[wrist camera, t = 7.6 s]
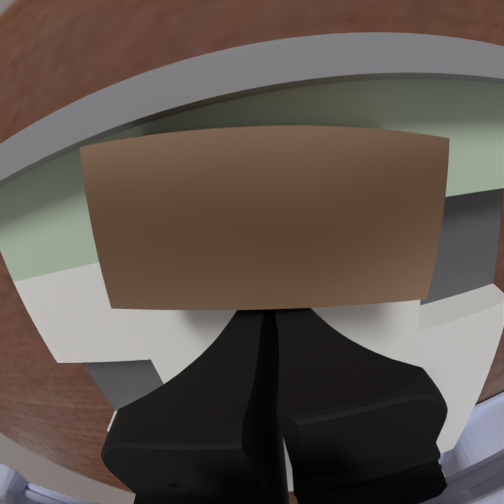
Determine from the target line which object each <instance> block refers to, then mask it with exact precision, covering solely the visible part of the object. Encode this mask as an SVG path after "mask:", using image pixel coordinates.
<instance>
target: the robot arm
mask: <svg viewBox="0 0 504 504" xmlns="http://www.w3.org/2000/svg"><path fill="white" fill-rule="evenodd" d="M447 413H448V408H447V404H446V402H445V400H444V398H443V396H442V394H441V392H440V390H439V389H438V387H437V386H436V384H435V383H434V382H433V380H432V379H431V378H430V376H429V375H428V374H427V372H426V371H425V370H424V369H423V368H422V367H419V366H415V365H412V364H408V363H405V362H401V361H398V360H394V359H391V358H389V357H386V356H384V355H381V354H379V353H376V352H374V351H371V350H369V349H367V348H365V347H363V346H361V345H359V344H358V343H356V342H354V341H352V340H350V339H349V338H347V337H346V336H344V335H342V334H341V333H340V332H338V331H337V330H335V329H334V328H333V327H331V326H330V325H329V324H328V323H326V322H325V321H324V320H323V319H322V318H321V317H320V316H319V315H317V314H316V313H315V312H314V311H313V310H312V309H311V308H291V309H260V310H237V311H236V312H235V314H234V315H233V317H232V318H231V320H230V321H229V323H228V324H227V325H226V327H225V328H224V329H223V331H222V332H221V333H220V334H219V336H218V337H217V338H216V339H215V341H214V342H213V343H212V344H211V345H210V346H209V347H208V348H207V349H206V350H205V351H204V352H203V353H202V354H201V355H200V356H199V357H198V358H197V359H196V360H194V361H193V362H192V363H191V364H190V365H188V366H187V367H186V368H185V369H184V370H182V371H181V372H180V373H179V374H177V375H176V376H175V377H173V378H172V379H170V380H169V381H168V382H166V383H165V384H163V385H162V386H160V387H158V388H157V389H155V390H154V391H152V392H150V393H149V394H147V395H145V396H143V397H141V398H139V399H137V400H135V401H134V402H132V403H130V404H128V405H126V406H124V407H121V408H119V409H118V411H117V413H116V415H115V418H114V420H113V422H112V425H111V427H110V430H109V433H108V435H107V438H106V441H105V443H104V446H103V449H102V453H101V457H102V460H103V462H104V464H105V466H106V467H107V468H108V469H109V470H110V471H111V473H112V474H114V475H115V476H116V477H117V478H118V479H119V480H120V481H121V482H122V483H124V484H125V485H126V486H127V487H128V488H129V489H131V490H132V491H133V492H134V493H135V494H136V496H135V500H134V504H290V502H289V493H288V482H287V472H286V462H285V451H284V442H285V445H286V449H287V453H288V456H289V460H290V463H291V467H292V476H293V491H294V496H296V498H297V501H298V504H504V392H502V393H500V394H498V395H496V396H494V397H492V398H490V399H488V400H486V401H484V402H482V403H479V404H477V405H475V406H474V409H473V411H472V413H471V415H470V417H469V419H468V421H467V423H466V425H465V427H464V429H463V431H462V433H461V435H460V437H459V439H458V441H457V443H456V445H455V446H454V448H453V449H451V450H449V451H446V452H444V453H440V451H439V448H438V446H437V443H436V441H437V439H438V437H439V435H440V432H441V430H442V428H443V425H444V423H445V420H446V417H447ZM283 438H284V440H283ZM440 464H441V465H442V467H443V470H444V472H445V475H446V477H444V475H443V472H442V469H441V467H440ZM0 504H97V503H93V502H89V501H86V500H82V499H78V498H75V497H72V496H68V495H65V494H62V493H59V492H56V491H53V490H50V489H47V488H44V487H41V486H39V485H36V484H33V483H31V482H28V481H27V480H26V479H25V478H24V477H23V476H22V475H21V474H20V473H18V472H17V471H16V470H15V469H13V468H12V467H10V466H8V465H6V464H4V463H1V462H0Z"/></svg>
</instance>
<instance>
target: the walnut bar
mask: <svg viewBox="0 0 504 504" xmlns="http://www.w3.org/2000/svg"><path fill="white" fill-rule="evenodd" d="M449 142H450V138H445V137H440V136H433V135H427V134H420V133H413V132H405V131H397V130H389V129H378V128H365V127H348V126H324V125H259V126H235V127H218V128H204V129H193V130H182V131H173V132H164V133H156V134H148V135H141V136H135V137H129V138H123V139H117V140H112V141H107V142H102V143H97V144H92V145H87V146H83V147H80V155H81V164H82V172H83V179H84V186H85V193H86V199H87V205H88V211H89V216H90V222H91V227H92V232H93V237H94V241H95V246H96V251H97V255H98V259H99V264H100V268H101V272H102V276H103V280H104V284H105V287H106V291H107V295H108V298H109V302H110V305H111V309H141V310H260V309H291V308H314V307H333V306H350V305H364V304H378V303H390V302H402V301H413V300H423V299H427V296H428V292H429V288H430V283H431V279H432V275H433V270H434V265H435V260H436V255H437V250H438V244H439V238H440V232H441V226H442V219H443V212H444V204H445V195H446V186H447V175H448V162H449Z"/></svg>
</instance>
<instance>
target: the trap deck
mask: <svg viewBox="0 0 504 504" xmlns="http://www.w3.org/2000/svg"><path fill="white" fill-rule="evenodd" d="M259 125H324V126H348V127H365V128H378V129H389V130H397V131H405V132H413V133H420V134H427V135H433V136H440V137H445V138H450V142H449V162H448V175H447V186H446V195H445V204H444V212H443V219H442V226H441V232H440V238H439V244H438V250H437V255H436V260H435V265H434V270H433V275H432V279H431V283H430V288H429V292H428V296H427V299H423V300H413V301H402V302H390V303H378V304H364V305H350V306H333V307H314V308H311V309H312V310H313V311H314V312H315V313H316V314H317V315H319V316H320V317H321V318H322V319H323V320H324V321H325V322H326V323H328V324H329V325H330V326H331V327H333V328H334V329H335V330H337V331H338V332H340V333H341V334H342V335H344V336H346V337H347V338H349V339H350V340H352V341H354V342H356V343H358V344H359V345H361V346H363V347H365V348H367V349H369V350H371V351H374V352H376V353H379V354H381V355H384V356H386V357H389V358H391V359H394V360H398V361H401V362H405V363H408V364H412V365H415V366H419V367H422V368H423V369H424V370H425V371H426V372H427V374H428V375H429V376H430V378H431V379H432V380H433V382H434V383H435V384H436V386H437V387H438V389H439V390H440V392H441V394H442V396H443V398H444V400H445V402H446V404H447V408H448V413H447V417H446V420H445V423H444V425H443V428H442V430H441V432H440V435H439V437H438V439H437V441H436V443H437V446H438V448H439V451H440V453H444V452H446V451H449V450H451V449H453V448H454V446H455V445H456V443H457V441H458V439H459V437H460V435H461V433H462V431H463V429H464V427H465V425H466V423H467V421H468V419H469V417H470V415H471V413H472V411H473V409H474V406H475V404H476V402H477V400H478V397H479V395H480V393H481V390H482V388H483V385H484V383H485V380H486V378H487V375H488V373H489V370H490V367H491V364H492V362H493V359H494V356H495V353H496V350H497V347H498V344H499V340H500V337H501V334H502V330H503V327H504V293H503V292H502V291H501V290H499V289H498V288H497V287H496V286H495V285H494V284H493V280H494V274H495V267H496V260H497V252H498V244H499V234H500V221H501V203H502V188H504V46H500V45H495V44H490V43H485V42H480V41H474V40H468V39H461V38H454V37H446V36H437V35H426V34H411V33H380V32H371V33H339V34H324V35H313V36H303V37H295V38H287V39H280V40H273V41H267V42H261V43H255V44H250V45H244V46H239V47H235V48H230V49H225V50H221V51H217V52H213V53H209V54H205V55H201V56H197V57H193V58H190V59H186V60H183V61H179V62H176V63H173V64H170V65H166V66H163V67H160V68H157V69H154V70H151V71H148V72H145V73H143V74H140V75H137V76H134V77H132V78H129V79H126V80H124V81H121V82H119V83H116V84H114V85H111V86H109V87H107V88H104V89H102V90H100V91H97V92H95V93H93V94H90V95H88V96H86V97H84V98H82V99H80V100H78V101H75V102H73V103H71V104H69V105H67V106H65V107H63V108H61V109H59V110H57V111H55V112H54V113H52V114H50V115H48V116H46V117H44V118H42V119H41V120H39V121H37V122H35V123H34V124H32V125H30V126H28V127H27V128H25V129H23V130H22V131H20V132H18V133H17V134H15V135H14V136H12V137H10V138H9V139H7V140H6V141H4V142H3V143H1V144H0V251H1V253H2V256H3V258H4V261H5V263H6V266H7V268H8V270H9V273H10V275H11V277H12V279H13V282H14V284H15V286H16V288H17V290H18V292H19V294H20V297H21V299H22V301H23V303H24V305H25V307H26V309H27V311H28V312H29V314H30V316H31V318H32V320H33V322H34V324H35V326H36V327H37V329H38V331H39V333H40V334H41V336H42V338H43V340H44V341H45V343H46V345H47V346H48V348H49V350H50V351H51V353H52V355H53V356H54V358H55V359H56V361H57V363H79V362H83V364H84V366H85V367H86V369H87V370H88V372H89V373H90V375H91V377H92V378H93V380H94V381H95V383H96V384H97V386H98V387H99V389H100V390H101V392H102V393H103V394H104V396H105V397H106V399H107V400H108V402H109V403H110V404H111V406H112V407H113V408H114V410H115V412H114V415H113V417H112V420H111V422H110V425H109V427H108V430H107V431H108V432H109V430H110V427H111V425H112V422H113V420H114V418H115V415H116V413H117V411H118V409H119V408H121V407H124V406H126V405H128V404H130V403H132V402H134V401H135V400H137V399H139V398H141V397H143V396H145V395H147V394H149V393H150V392H152V391H154V390H155V389H157V388H158V387H160V386H162V385H163V384H165V383H166V382H168V381H169V380H170V379H172V378H173V377H175V376H176V375H177V374H179V373H180V372H181V371H182V370H184V369H185V368H186V367H187V366H188V365H190V364H191V363H192V362H193V361H194V360H196V359H197V358H198V357H199V356H200V355H201V354H202V353H203V352H204V351H205V350H206V349H207V348H208V347H209V346H210V345H211V344H212V343H213V342H214V341H215V339H216V338H217V337H218V336H219V334H220V333H221V332H222V331H223V329H224V328H225V327H226V325H227V324H228V323H229V321H230V320H231V318H232V317H233V315H234V314H235V312H236V311H237V310H141V309H111V305H110V302H109V298H108V295H107V291H106V287H105V284H104V280H103V276H102V272H101V268H100V264H99V259H98V255H97V251H96V246H95V241H94V237H93V232H92V227H91V222H90V216H89V211H88V205H87V199H86V193H85V186H84V179H83V172H82V164H81V155H80V147H83V146H87V145H92V144H97V143H102V142H107V141H112V140H117V139H123V138H129V137H135V136H141V135H148V134H156V133H164V132H173V131H182V130H193V129H204V128H218V127H235V126H259ZM283 440H284V438H283ZM284 451H285V462H286V472H287V482H288V491H293V476H292V467H291V463H290V460H289V456H288V453H287V449H286V445H285V442H284Z"/></svg>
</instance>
